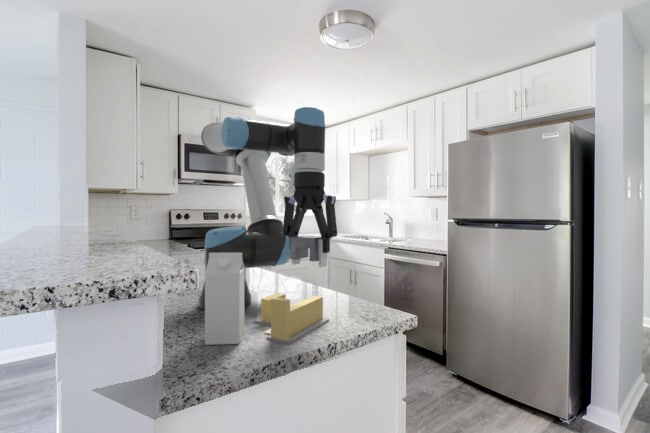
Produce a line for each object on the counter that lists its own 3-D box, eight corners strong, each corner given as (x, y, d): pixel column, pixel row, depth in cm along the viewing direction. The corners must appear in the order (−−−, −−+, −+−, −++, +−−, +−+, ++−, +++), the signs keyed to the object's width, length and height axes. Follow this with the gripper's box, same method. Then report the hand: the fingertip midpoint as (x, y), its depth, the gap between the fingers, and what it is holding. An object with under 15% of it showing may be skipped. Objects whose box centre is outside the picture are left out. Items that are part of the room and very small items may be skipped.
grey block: (290, 259, 84) (290, 236, 84) (303, 256, 89) (303, 235, 89) (315, 261, 80) (315, 238, 80) (327, 258, 85) (327, 236, 85)
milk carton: (212, 333, 79) (213, 250, 78) (244, 332, 79) (244, 250, 79) (204, 345, 71) (204, 254, 71) (239, 344, 72) (239, 254, 72)
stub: (253, 322, 86) (253, 298, 86) (274, 313, 94) (275, 291, 94) (272, 326, 83) (272, 302, 83) (293, 316, 91) (293, 294, 91)
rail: (266, 339, 75) (266, 298, 75) (309, 317, 91) (309, 283, 91) (289, 344, 72) (289, 302, 72) (329, 320, 88) (329, 286, 88)
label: (263, 332, 79) (263, 331, 79) (279, 325, 84) (279, 324, 84) (274, 335, 78) (274, 334, 78) (289, 327, 83) (289, 326, 83)
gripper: (267, 172, 86) (267, 263, 86) (338, 168, 76) (338, 270, 77) (285, 175, 92) (284, 260, 93) (352, 171, 83) (352, 266, 83)
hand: (309, 264), depth 85 cm, fingers closed on grey block, 7 cm apart
